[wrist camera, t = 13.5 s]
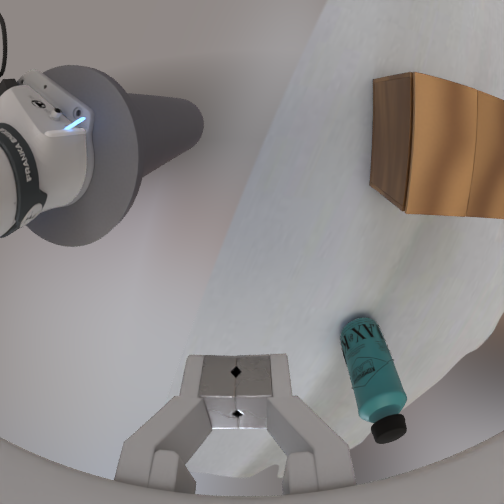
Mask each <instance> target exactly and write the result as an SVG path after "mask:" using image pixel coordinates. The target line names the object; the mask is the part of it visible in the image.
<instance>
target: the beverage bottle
mask: <svg viewBox="0 0 504 504" xmlns="http://www.w3.org/2000/svg"><path fill="white" fill-rule="evenodd" d="M379 327H380V326H379V325H378V324H377V322H375V321H374V320H372V319H370V318H359V319H355V320H353V321H351V322H350V323H348V324H347V325H346V326H345V327H344V328H343V330H342V332H341V336H340V340H341V345H342V348H343V349H342V350H343V351H342V352H343V354H344V355H343V356H344V359H345V362H346V364H347V367H348V372H349V375H350V379H351V383H352V387H353V388H352V389H353V390H354V394H355V398H356V402H357V406H358V413H359V416H360V418H362V419H363V420H365V421H368V422H372V423H374V424H373V425H372V427H371V431H372V434H373V436H374V439H375V441H376V442H377V443H379V444H384V443H389V442H392V441H394V440H397V439H399V438H400V437H401V436H403V435H404V434H405V433H406V429H407V428H406V424H405V418H404V416H403V415H402V414H399V413H400V411H401V410H402V408H403V407H404V405H405V403H406V401H407V396H406V394H405V392H404V390H403V387H402V384H401V381H400V379H399V376H398V373H397V371H396V368H395V366H394V362H393V361H394V359H392V357H391V355H392V354H391V355H390V353H391V352H389V351H390V350H388V344H387V345H386V342H385V340H384V338H383V336H384V335H382V333H381V331H380V328H379Z"/></svg>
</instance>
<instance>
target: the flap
mask: <svg viewBox="0 0 504 504" xmlns="http://www.w3.org/2000/svg"><path fill="white" fill-rule="evenodd" d="M476 128H477V90H476V89H473V88H470V87H468V86H464V85H461V84H458V83H455V82H452V81H448V80H445V79H441V78H437V77H434V76H430V75H426V74H422V73H417V72H413V133H412V150H411V163H410V173H409V183H408V191H407V199H406V207H405V213H406V214H424V215H444V216H461V217H465V215H466V210H467V205H468V199H469V193H470V187H471V180H472V172H473V164H474V155H475V143H476Z"/></svg>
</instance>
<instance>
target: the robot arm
mask: <svg viewBox="0 0 504 504" xmlns="http://www.w3.org/2000/svg"><path fill="white" fill-rule="evenodd" d="M0 24H1V29H2V39H3V59H2V66H1V71H0V77H1V76H3V74H4V72H5V68H6V62H7V32H6V25H5V21H4V19H3V17H2V15H1V13H0ZM23 81H24V83H23ZM79 111H81V115H79ZM94 118H95V116H94V112H93V110H92V109H91V108H90V107H88V106H87V105H86V104H84V103H83V102H81V101H80V100H79V99H77V98H76V97H75V96H73V95H72V94H71V93H69V92H68V91H66V90H65V89H64V88H62V87H61V86H60V85H58V84H57V83H56V82H54V81H53V80H51V79H50V78H49V77H47V76H46V75H44V74H43V73H42V72H40V71H39V70H37V69H33V70H30V71H28V72H26V73H25V74H24V75H23V76H21V77H20V79H19V80H18V81H17V82H16V81H15V79H3V80H2V82H1V83H0V238H2V237H6V236H8V235H9V234H11V233H13V232H14V231H16V230H17V229H19V228H22V227H23V226H24V225H26V224H28V223H29V222H30V221H32V220H33V219H34V218H35V217H36V216H37V215H38V214H39V213H41V212H44V211H46V210H49V209H52V208H56V207H65V206H69V205H71V204H73V203H75V202H76V201H78V200H79V199H80V198H81V197H82V196H83V194H84V193H85V192H86V190H87V188H88V186H89V184H90V181H91V178H92V175H93V170H94V149H93V143H92V130H93V125H94ZM234 428H246V429H262V428H267V430H268V432H269V433H270V435H271V436H272V437H273V439H274V440H275V441H276V442H277V444H278V445H279V446H280V448H281V449H282V450H283V452H284V453H285V454H286V455H287V461H286V466H285V471H284V476H283V481H282V488H283V495H277V496H247V497H246V496H213V495H199V494H195V490H196V481H195V480H194V478H193V477H192V475H191V474H190V472H189V471H188V469H187V468H186V466H185V464H186V463H187V462H188V461H189V459H190V458H191V457H192V456H193V454H194V453H195V452H196V451H197V449H198V448H199V447H200V446H201V444H202V443H203V442H204V440H205V439H206V438H207V437H208V435H209V434H210V433H211V431H212V429H234ZM0 504H504V431H502V432H500V433H498V434H497V435H495V436H493V437H491V438H489V439H488V440H485V441H484V442H481V443H479V444H477V445H475V446H473V447H471V448H469V449H467V450H464V451H462V452H460V453H457V454H455V455H453V456H450V457H448V458H445V459H443V460H441V461H438V462H435V463H433V464H430V465H427V466H424V467H421V468H418V469H415V470H412V471H409V472H406V473H402V474H399V475H396V476H392V477H388V478H385V479H381V480H377V481H373V482H369V483H364V484H360V485H356V480H355V475H354V470H353V465H352V460H351V455H350V451H349V446H348V444H347V443H346V442H345V441H344V440H343V439H342V438H341V437H339V436H338V435H337V434H336V433H335V432H334V431H333V430H332V429H331V428H330V427H329V426H328V425H327V424H326V423H325V422H324V421H323V420H322V419H321V418H319V417H318V416H317V415H316V414H315V413H314V412H313V411H312V410H311V409H310V408H309V407H308V406H307V405H306V404H305V403H304V402H303V401H302V400H301V399H300V398H299V397H298V396H292V389H291V381H290V373H289V365H288V357H287V355H286V354H270V356H269V354H265V355H238V356H215V355H189V356H188V358H187V360H186V365H185V370H184V375H183V380H182V385H181V390H180V395H179V396H174V397H173V398H172V399H171V400H170V401H169V402H168V403H167V404H166V405H165V406H163V407H162V408H161V409H160V410H159V411H158V412H157V413H156V414H155V415H154V416H153V417H151V418H150V420H148V421H147V422H146V423H145V424H144V425H143V426H142V427H140V428H139V429H138V430H137V431H136V432H135V433H134V434H133V435H132V436H131V437H129V438H128V439H127V440H126V441H125V442H124V444H123V447H122V451H121V455H120V459H119V463H118V466H117V470H116V475H115V478H114V480H110V479H106V478H102V477H99V476H95V475H92V474H89V473H85V472H82V471H79V470H76V469H73V468H70V467H67V466H64V465H62V464H59V463H56V462H54V461H51V460H48V459H46V458H43V457H41V456H39V455H36V454H34V453H32V452H29V451H27V450H25V449H23V448H21V447H19V446H17V445H15V444H12V443H10V442H8V441H7V440H5V439H3V438H0Z"/></svg>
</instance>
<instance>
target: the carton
mask: <svg viewBox="0 0 504 504" xmlns="http://www.w3.org/2000/svg"><path fill="white" fill-rule="evenodd" d="M412 133H413V73H412V72H407V73H402V74H397V75H391V76H387V77H382V78H377V79H373V134H372V156H371V172H370V186H371V187H372V188H374V189H375V190H376V191H378V192H379V193H380V194H381V195H383V196H384V197H385V198H387V199H388V200H389V201H390V202H391V203H393V204H394V205H395V206H396V207H398V208H399V209H400V210H401V211H405V207H406V199H407V191H408V183H409V173H410V163H411V150H412ZM465 216H467V217H483V218H497V219H504V100H502V99H499V98H497V97H495V96H492V95H489V94H487V93H484V92H481V91H479V90H477V128H476V143H475V155H474V164H473V172H472V180H471V187H470V193H469V199H468V205H467V210H466V215H465Z"/></svg>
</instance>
